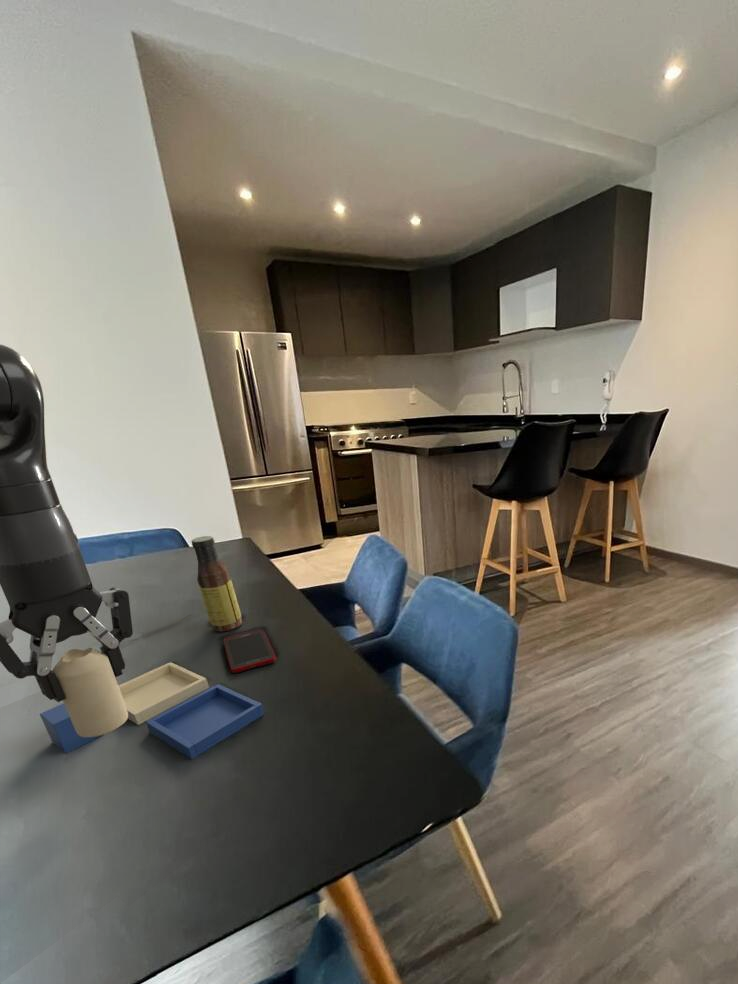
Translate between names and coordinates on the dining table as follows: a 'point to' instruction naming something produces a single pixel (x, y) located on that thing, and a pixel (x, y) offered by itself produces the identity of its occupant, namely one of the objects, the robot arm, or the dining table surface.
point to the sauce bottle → (216, 586)
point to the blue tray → (204, 720)
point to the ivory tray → (160, 691)
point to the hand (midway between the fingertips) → (88, 685)
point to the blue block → (63, 729)
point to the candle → (90, 692)
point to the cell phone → (248, 651)
